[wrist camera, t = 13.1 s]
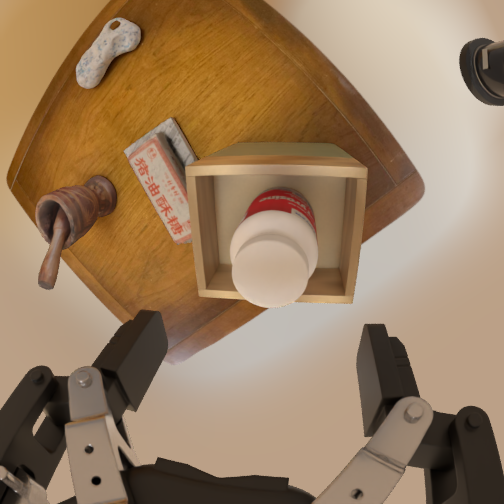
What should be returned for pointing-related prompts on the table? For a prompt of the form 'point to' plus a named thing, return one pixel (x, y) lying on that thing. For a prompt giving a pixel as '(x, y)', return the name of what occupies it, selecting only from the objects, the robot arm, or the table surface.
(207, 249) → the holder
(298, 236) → the pill bottle
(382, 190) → the table surface
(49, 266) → the mortar and pestle
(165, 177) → the packaged product
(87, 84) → the decorative stone
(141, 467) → the robot arm
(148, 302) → the table surface
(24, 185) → the table surface
